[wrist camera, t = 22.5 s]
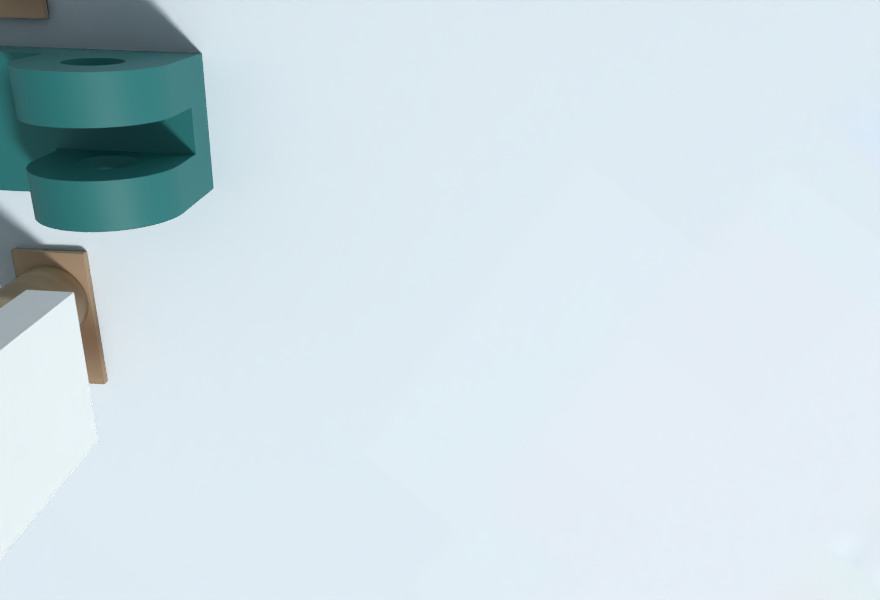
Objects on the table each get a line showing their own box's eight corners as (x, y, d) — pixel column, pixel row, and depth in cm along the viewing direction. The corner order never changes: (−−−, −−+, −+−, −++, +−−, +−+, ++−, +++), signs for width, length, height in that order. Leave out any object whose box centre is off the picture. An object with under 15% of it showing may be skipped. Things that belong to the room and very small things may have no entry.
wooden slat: (-69, -174, 36) (-74, -175, 35) (18, -172, 36) (13, -174, 35) (40, 377, 47) (37, 380, 47) (107, 380, 47) (104, 384, 46)
